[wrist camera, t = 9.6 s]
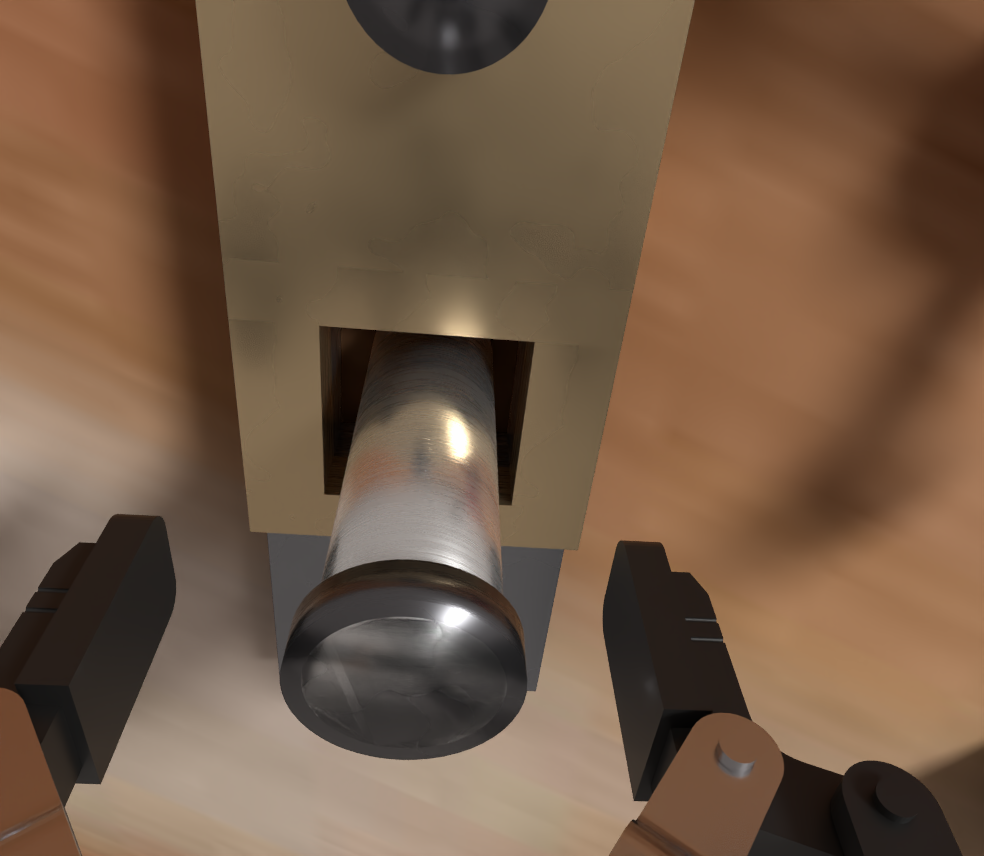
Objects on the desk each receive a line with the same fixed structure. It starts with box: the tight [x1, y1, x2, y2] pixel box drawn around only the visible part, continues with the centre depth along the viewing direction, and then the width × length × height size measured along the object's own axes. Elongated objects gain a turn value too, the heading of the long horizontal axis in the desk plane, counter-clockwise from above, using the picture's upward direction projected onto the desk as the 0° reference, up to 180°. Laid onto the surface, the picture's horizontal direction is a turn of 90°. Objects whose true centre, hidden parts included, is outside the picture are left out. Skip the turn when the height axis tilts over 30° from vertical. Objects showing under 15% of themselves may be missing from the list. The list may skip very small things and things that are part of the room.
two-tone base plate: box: [195, 0, 695, 691], centre depth 18 cm, size 22×8×5 cm, turn 175°
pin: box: [280, 330, 527, 760], centre depth 16 cm, size 4×4×10 cm
